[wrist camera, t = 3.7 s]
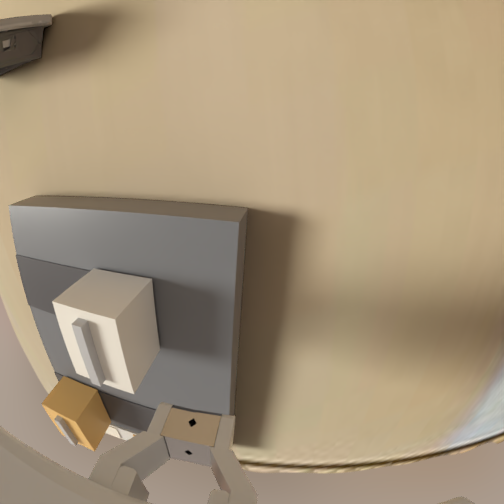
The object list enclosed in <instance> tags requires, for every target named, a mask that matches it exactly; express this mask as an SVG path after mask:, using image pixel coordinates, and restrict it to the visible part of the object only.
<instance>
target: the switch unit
mask: <svg viewBox="0 0 504 504" xmlns="http://www.w3.org/2000/svg"><path fill="white" fill-rule="evenodd" d="M9 212H10V219H11V226H12V232H13V238H14V244H15V249H16V254H17V255H16V258H17V263H18V267H19V271H20V275H21V279H22V283H23V287H24V291H25V294H26V298H27V301H28V304H29V305H30V308H31V311H32V314H33V317H34V320H35V323H36V326H37V329H38V331H39V334H40V337H41V339H42V342H43V345H44V347H45V350H46V352H47V355H48V357H49V359H50V362H51V364H52V366H53V368H54V371H55V375H56V377H57V379H58V381H60V380H61V379H62V377H63V376H65V377H68V378H70V379H72V380H74V381H77V382H79V383H81V384H84V385H86V386H89V387H91V388H94V389H96V390H98V393H99V395H100V397H101V400H102V402H103V404H104V407H105V409H106V411H107V413H108V415H109V418H110V420H111V424H110V425H109V427H108V429H107V431H106V432H105V433H107V434H110V435H112V436H115V437H118V438H120V439H124V440H129V439H131V438H132V437H134V436H136V435H137V434H139V433H141V432H142V431H146V432H147V430H148V428H149V426H150V423H151V421H152V419H153V416H154V414H155V412H156V410H157V407H158V405H159V404H160V403H161V402H165V403H169V404H173V405H177V406H181V407H185V408H190V409H194V410H201V411H207V412H213V413H220V414H224V415H231V416H234V412H235V396H236V380H237V364H238V348H239V333H240V318H241V303H242V289H243V274H244V260H245V246H246V232H247V218H248V208H244V207H233V206H222V205H211V204H199V203H187V202H173V201H158V200H142V199H124V198H103V197H74V196H33V197H30V198H28V199H25V200H22V201H19V202H17V203H14V204H11V205H9ZM92 269H99V270H105V271H110V272H116V273H121V274H127V275H133V276H138V277H144V278H150V279H152V284H153V295H154V304H155V313H156V322H157V330H158V337H159V345H160V351H159V352H158V354H157V356H156V358H155V359H154V361H153V363H152V364H151V366H150V368H149V370H148V371H147V373H146V375H145V376H144V378H143V380H142V382H141V383H140V385H139V387H138V389H137V390H136V392H135V394H132V393H129V392H126V391H123V390H120V389H117V388H114V387H111V386H108V385H105V384H102V386H101V387H100V386H98V385H95V384H92V382H91V380H90V379H89V378H87V377H84V376H82V375H79V374H77V373H76V371H75V368H74V366H73V363H72V360H71V358H70V355H69V353H68V350H67V347H66V344H65V341H64V338H63V336H62V332H61V329H60V326H59V323H58V320H57V317H56V313H55V310H54V306H53V303H52V301H53V300H54V299H55V298H57V297H58V296H59V295H60V294H62V293H63V292H64V291H65V290H67V289H68V288H69V287H70V286H72V285H73V284H74V283H76V282H77V281H78V280H79V279H81V278H82V277H83V276H85V275H86V274H87V273H88V272H90V271H91V270H92Z"/></svg>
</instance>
